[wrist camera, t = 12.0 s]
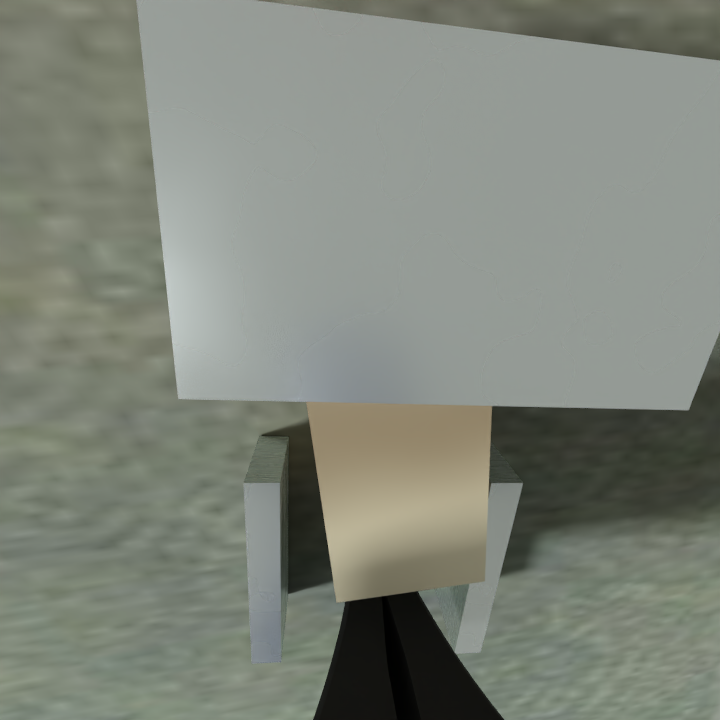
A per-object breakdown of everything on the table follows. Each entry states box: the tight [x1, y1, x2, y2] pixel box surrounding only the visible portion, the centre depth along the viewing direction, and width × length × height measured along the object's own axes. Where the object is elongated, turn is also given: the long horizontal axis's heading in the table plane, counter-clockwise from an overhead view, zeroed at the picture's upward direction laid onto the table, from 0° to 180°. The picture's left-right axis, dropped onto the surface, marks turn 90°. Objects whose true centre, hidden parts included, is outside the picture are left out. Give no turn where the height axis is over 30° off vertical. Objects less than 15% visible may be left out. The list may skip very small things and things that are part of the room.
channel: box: [244, 436, 523, 663], centre depth 11 cm, size 6×7×2 cm
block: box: [137, 0, 720, 410], centre depth 6 cm, size 4×7×5 cm, turn 86°
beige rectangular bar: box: [307, 402, 492, 603], centre depth 8 cm, size 8×3×4 cm, turn 5°
